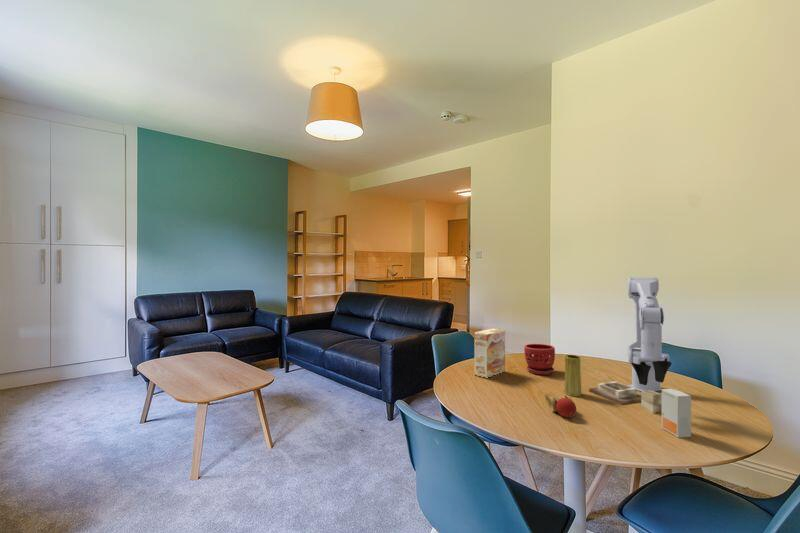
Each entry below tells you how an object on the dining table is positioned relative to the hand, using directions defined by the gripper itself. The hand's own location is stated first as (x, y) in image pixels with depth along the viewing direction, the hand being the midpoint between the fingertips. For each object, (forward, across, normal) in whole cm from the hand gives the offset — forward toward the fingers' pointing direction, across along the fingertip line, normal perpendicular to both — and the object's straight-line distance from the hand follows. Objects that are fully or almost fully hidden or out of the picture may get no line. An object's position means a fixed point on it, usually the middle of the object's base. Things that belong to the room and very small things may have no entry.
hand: (651, 383), depth 121 cm
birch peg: (+9, 0, 0) cm, 9 cm away
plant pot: (+10, -6, +48) cm, 49 cm away
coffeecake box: (+10, -29, +53) cm, 61 cm away
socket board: (+9, +1, +14) cm, 17 cm away
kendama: (+10, -29, +11) cm, 32 cm away
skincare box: (+10, -9, -14) cm, 19 cm away
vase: (+9, -13, +21) cm, 26 cm away
